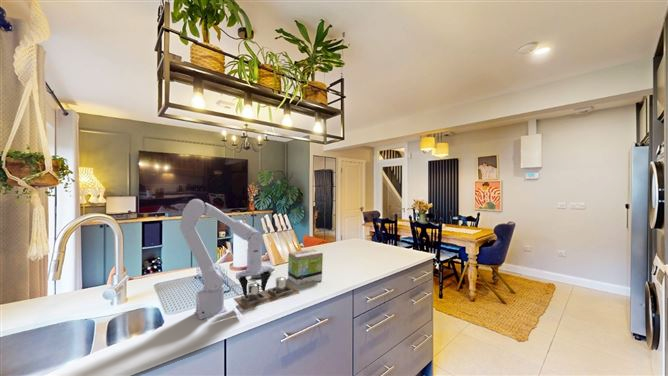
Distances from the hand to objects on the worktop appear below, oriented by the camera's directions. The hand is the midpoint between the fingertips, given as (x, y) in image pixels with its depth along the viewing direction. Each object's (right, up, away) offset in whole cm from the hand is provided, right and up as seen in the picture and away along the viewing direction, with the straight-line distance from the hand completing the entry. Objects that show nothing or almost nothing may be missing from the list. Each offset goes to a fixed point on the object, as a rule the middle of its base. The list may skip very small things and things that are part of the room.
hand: (254, 292), depth 105 cm
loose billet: (0, -3, 0) cm, 3 cm away
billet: (+9, -3, +8) cm, 12 cm away
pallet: (+5, -5, +4) cm, 8 cm away
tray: (-7, -4, +12) cm, 15 cm away
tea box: (+18, -5, +25) cm, 31 cm away
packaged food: (-5, -5, +31) cm, 31 cm away
